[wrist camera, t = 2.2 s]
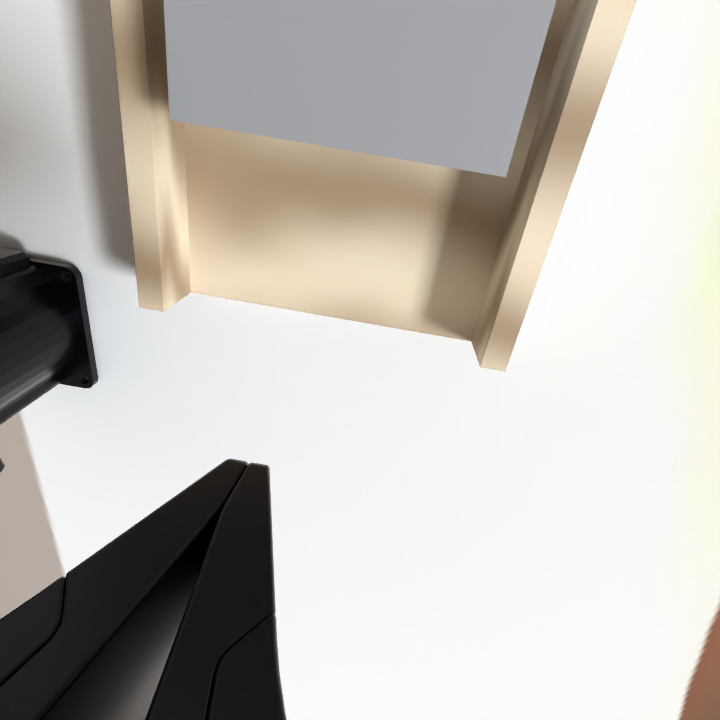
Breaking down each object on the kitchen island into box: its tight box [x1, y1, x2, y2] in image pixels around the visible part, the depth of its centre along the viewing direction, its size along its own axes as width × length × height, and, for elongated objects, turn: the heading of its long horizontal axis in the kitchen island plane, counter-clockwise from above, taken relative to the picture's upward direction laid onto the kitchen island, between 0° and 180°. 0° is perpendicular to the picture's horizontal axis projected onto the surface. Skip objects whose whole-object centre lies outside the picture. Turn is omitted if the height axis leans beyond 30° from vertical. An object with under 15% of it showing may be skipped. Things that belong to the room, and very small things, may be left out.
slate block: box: [164, 0, 556, 177], centre depth 13 cm, size 6×10×4 cm, turn 81°
